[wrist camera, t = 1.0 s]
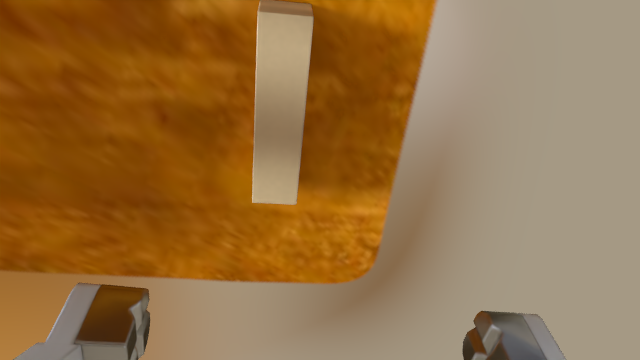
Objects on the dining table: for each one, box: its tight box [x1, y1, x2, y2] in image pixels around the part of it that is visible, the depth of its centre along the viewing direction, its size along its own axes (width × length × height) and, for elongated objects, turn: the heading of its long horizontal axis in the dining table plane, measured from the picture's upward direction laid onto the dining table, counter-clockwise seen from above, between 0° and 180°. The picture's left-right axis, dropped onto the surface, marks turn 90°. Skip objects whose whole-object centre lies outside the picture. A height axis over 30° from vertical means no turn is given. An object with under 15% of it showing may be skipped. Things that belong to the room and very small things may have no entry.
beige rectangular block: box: [252, 0, 314, 205], centre depth 23 cm, size 10×2×2 cm, turn 174°
